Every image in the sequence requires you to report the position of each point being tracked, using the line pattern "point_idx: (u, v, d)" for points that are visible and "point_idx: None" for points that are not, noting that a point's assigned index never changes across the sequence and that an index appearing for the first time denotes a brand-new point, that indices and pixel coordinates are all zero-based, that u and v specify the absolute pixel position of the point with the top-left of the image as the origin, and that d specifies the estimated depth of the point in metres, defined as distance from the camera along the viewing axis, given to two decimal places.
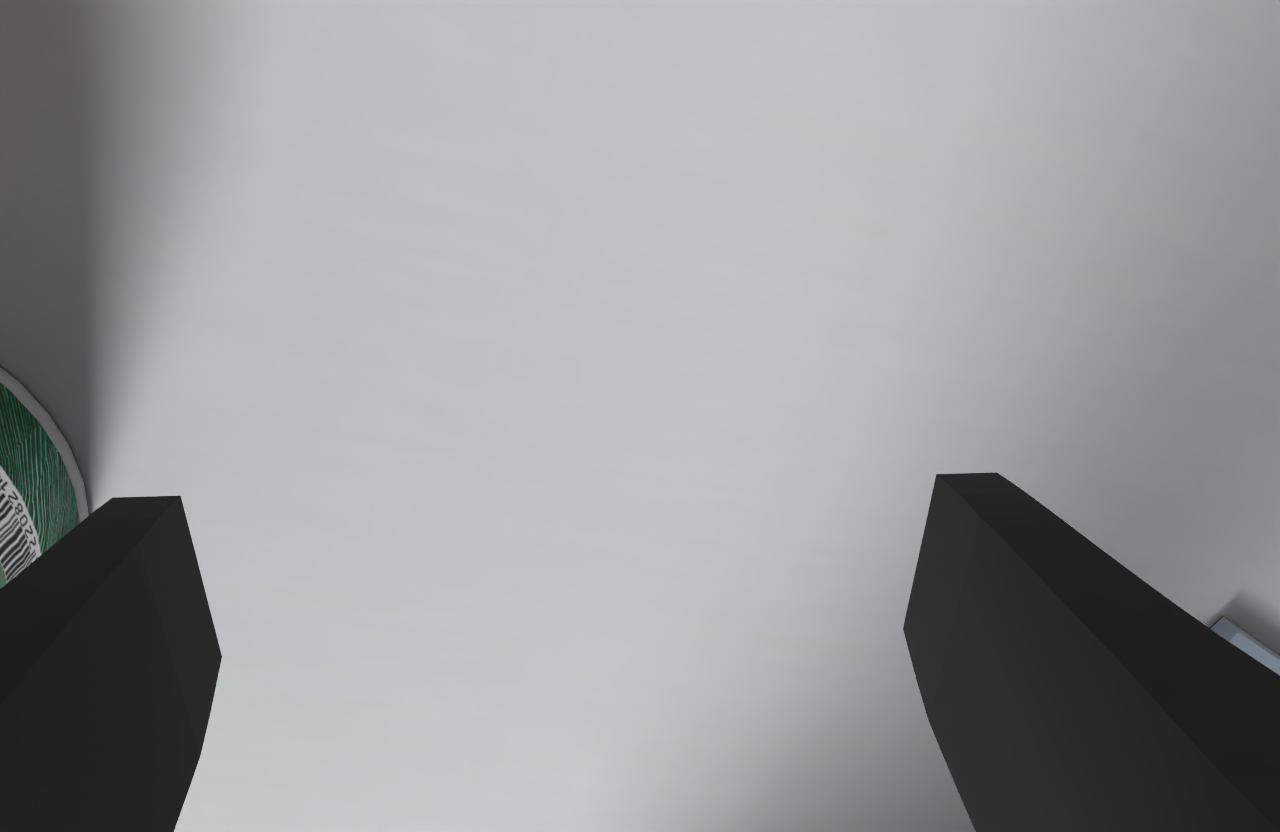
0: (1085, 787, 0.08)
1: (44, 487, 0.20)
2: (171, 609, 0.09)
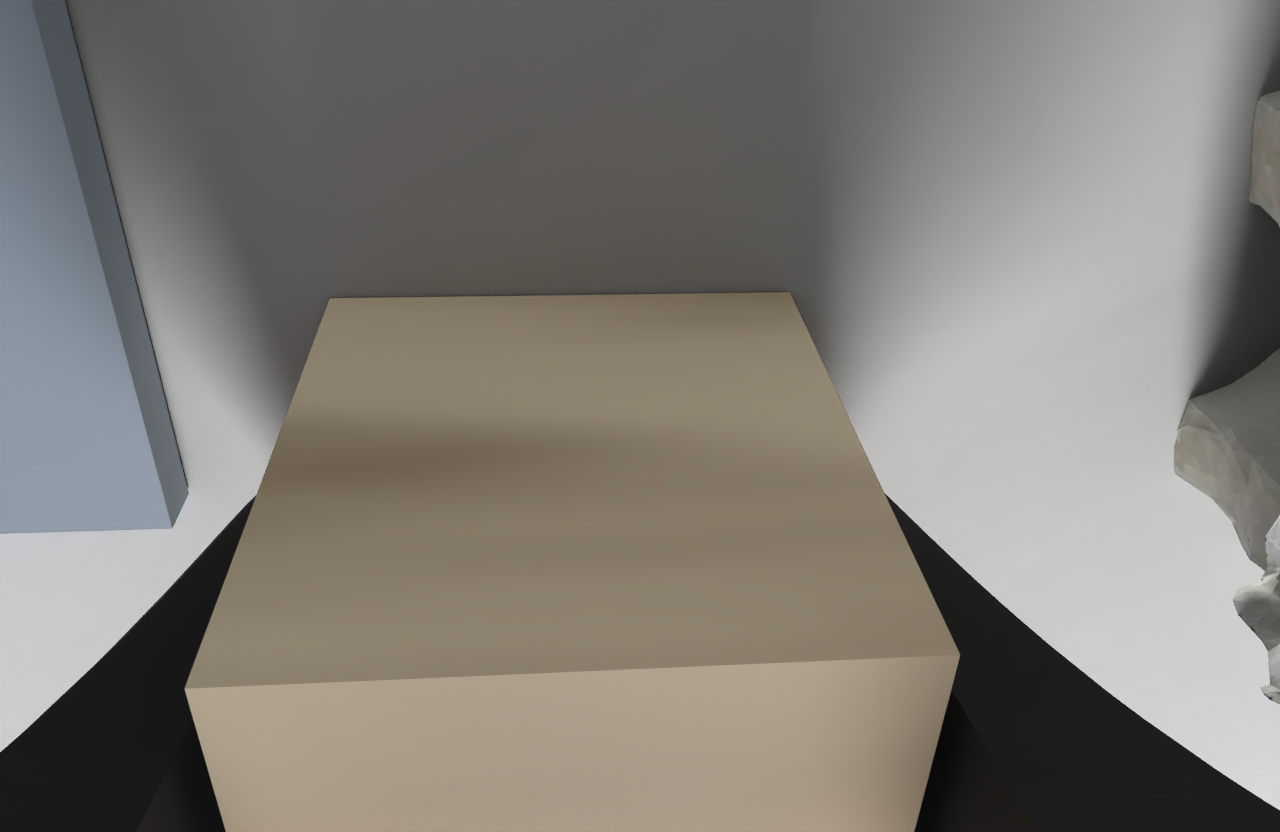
0: None
1: None
2: None
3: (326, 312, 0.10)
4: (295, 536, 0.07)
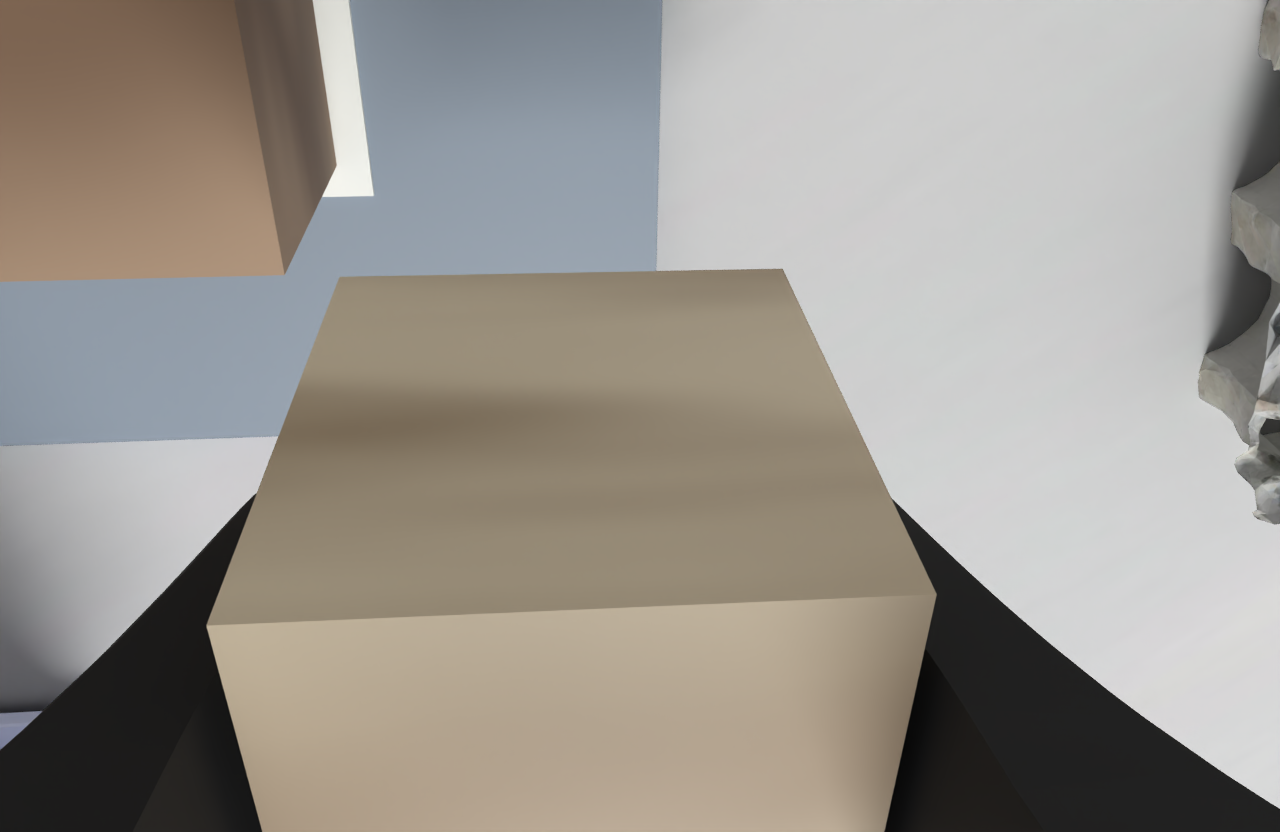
0: (918, 797, 0.08)
1: None
2: None
3: (336, 290, 0.10)
4: (308, 491, 0.07)
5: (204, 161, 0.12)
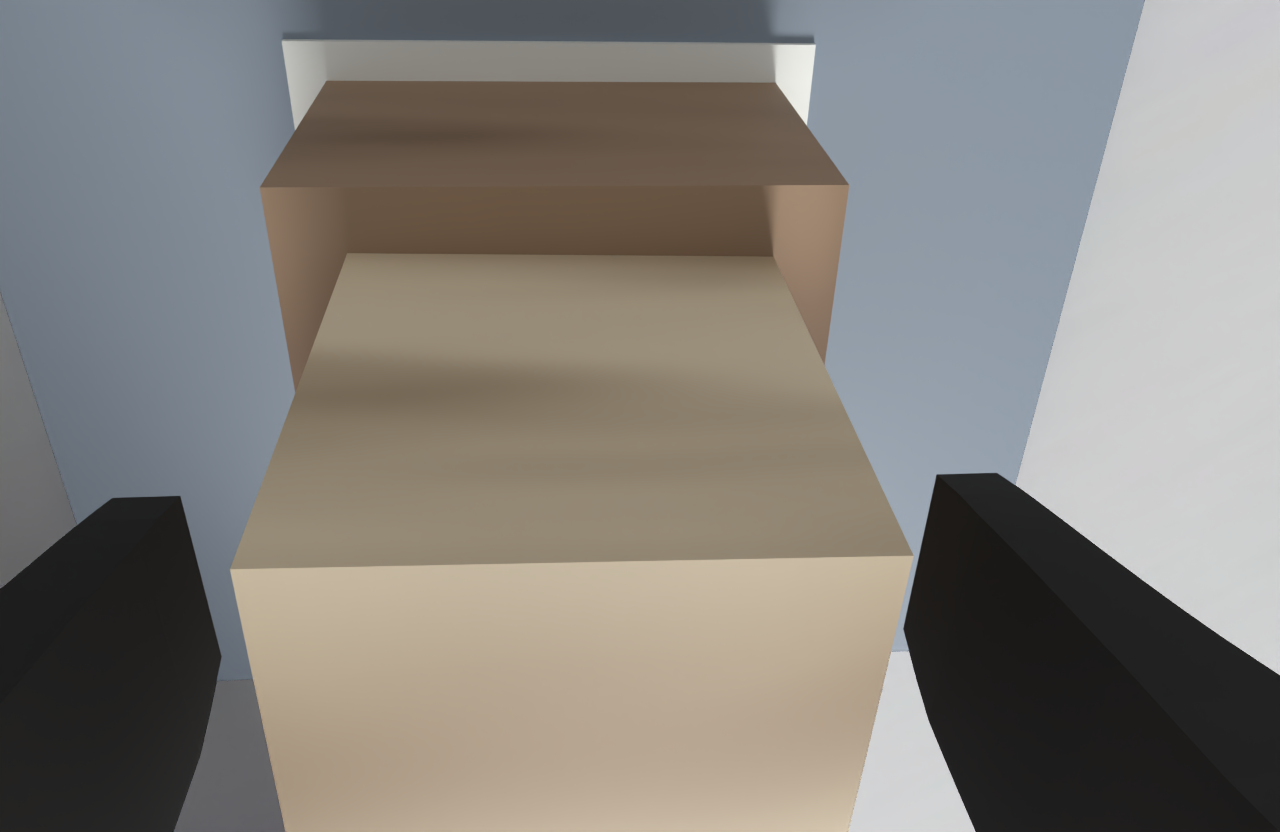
0: (1085, 787, 0.08)
1: None
2: (171, 609, 0.09)
3: (344, 265, 0.11)
4: (323, 450, 0.08)
5: None
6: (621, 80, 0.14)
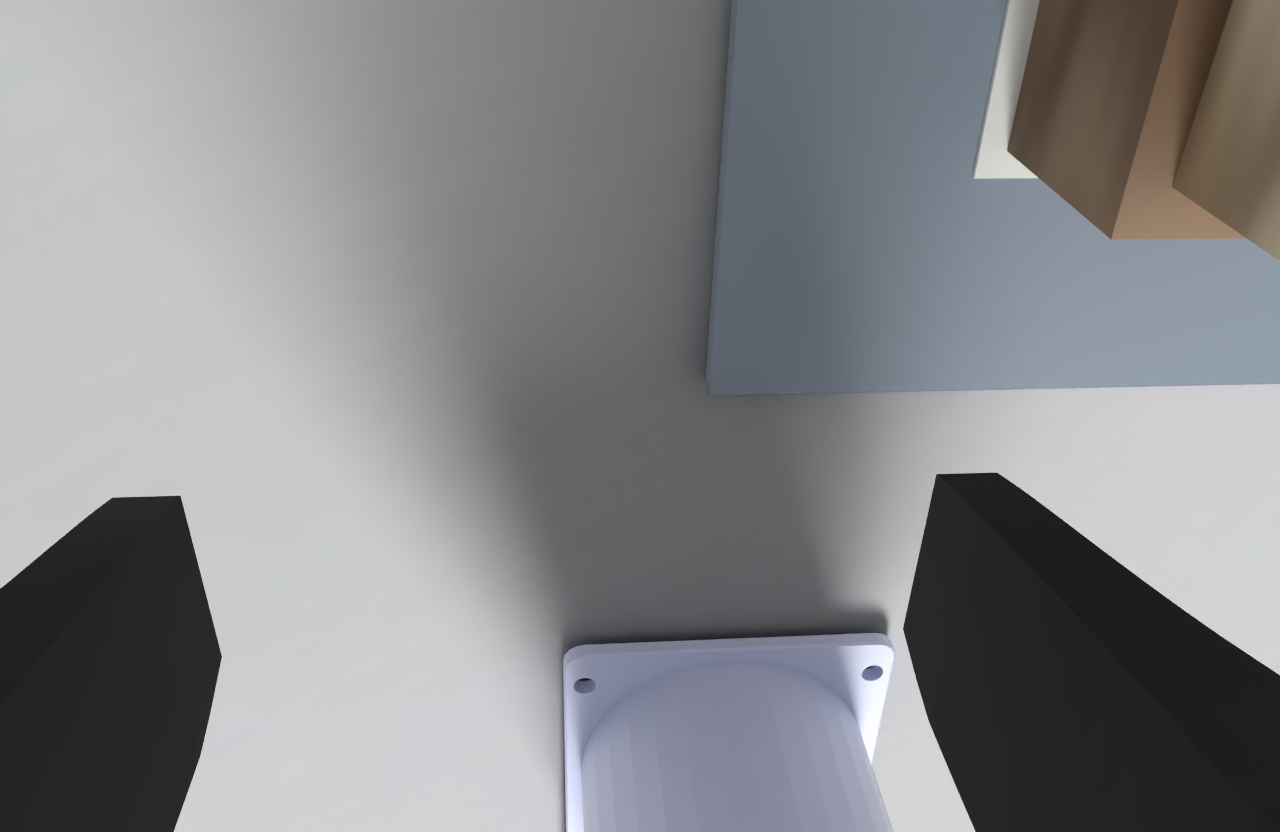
0: (1085, 786, 0.08)
1: None
2: (171, 609, 0.09)
3: None
4: None
5: None
6: None
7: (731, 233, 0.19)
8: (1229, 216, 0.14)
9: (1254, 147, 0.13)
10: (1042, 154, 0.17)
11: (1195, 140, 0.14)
